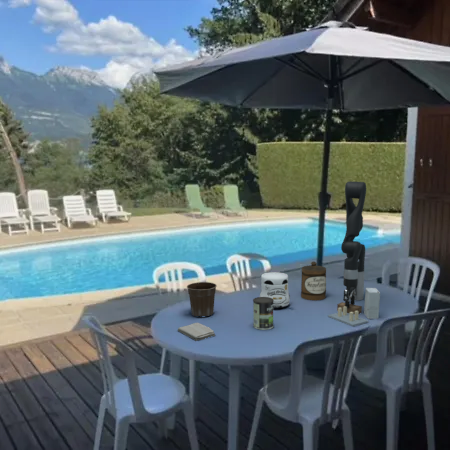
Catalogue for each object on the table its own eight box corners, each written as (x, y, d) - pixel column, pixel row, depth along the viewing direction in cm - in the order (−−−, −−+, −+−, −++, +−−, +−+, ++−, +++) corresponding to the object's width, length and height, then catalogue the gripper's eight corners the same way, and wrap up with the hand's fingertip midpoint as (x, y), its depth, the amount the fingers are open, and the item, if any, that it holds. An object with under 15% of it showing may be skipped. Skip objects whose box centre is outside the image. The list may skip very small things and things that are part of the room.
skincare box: (363, 314, 267) (364, 287, 265) (374, 313, 267) (375, 287, 264) (368, 319, 258) (368, 291, 256) (379, 319, 258) (380, 291, 256)
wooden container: (306, 301, 290) (307, 265, 287) (297, 294, 304) (297, 259, 301) (330, 299, 294) (330, 263, 290) (319, 292, 308) (320, 258, 305)
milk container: (275, 312, 271) (275, 281, 268) (253, 305, 284) (253, 275, 281) (296, 306, 282) (296, 275, 280) (274, 299, 295) (274, 270, 292)
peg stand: (328, 316, 263) (328, 306, 262) (343, 313, 269) (343, 303, 268) (352, 326, 248) (353, 316, 247) (368, 322, 253) (368, 312, 252)
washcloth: (196, 342, 231) (196, 336, 231) (176, 331, 245) (176, 326, 245) (217, 336, 238) (217, 330, 238) (196, 326, 252) (196, 320, 252)
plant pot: (181, 314, 270) (180, 286, 268) (202, 307, 282) (201, 280, 279) (202, 321, 259) (201, 291, 257) (223, 313, 271) (222, 285, 268)
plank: (337, 311, 273) (337, 304, 272) (341, 308, 277) (342, 302, 276) (357, 315, 265) (357, 308, 264) (361, 313, 269) (361, 306, 268)
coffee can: (276, 325, 252) (277, 298, 250) (267, 331, 243) (267, 303, 241) (259, 321, 257) (259, 295, 255) (249, 327, 248) (249, 300, 246)
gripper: (352, 280, 260) (352, 310, 262) (361, 275, 272) (360, 303, 274) (339, 278, 264) (338, 308, 266) (348, 273, 276) (347, 301, 278)
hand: (349, 306), depth 270 cm, fingers open, 8 cm apart
